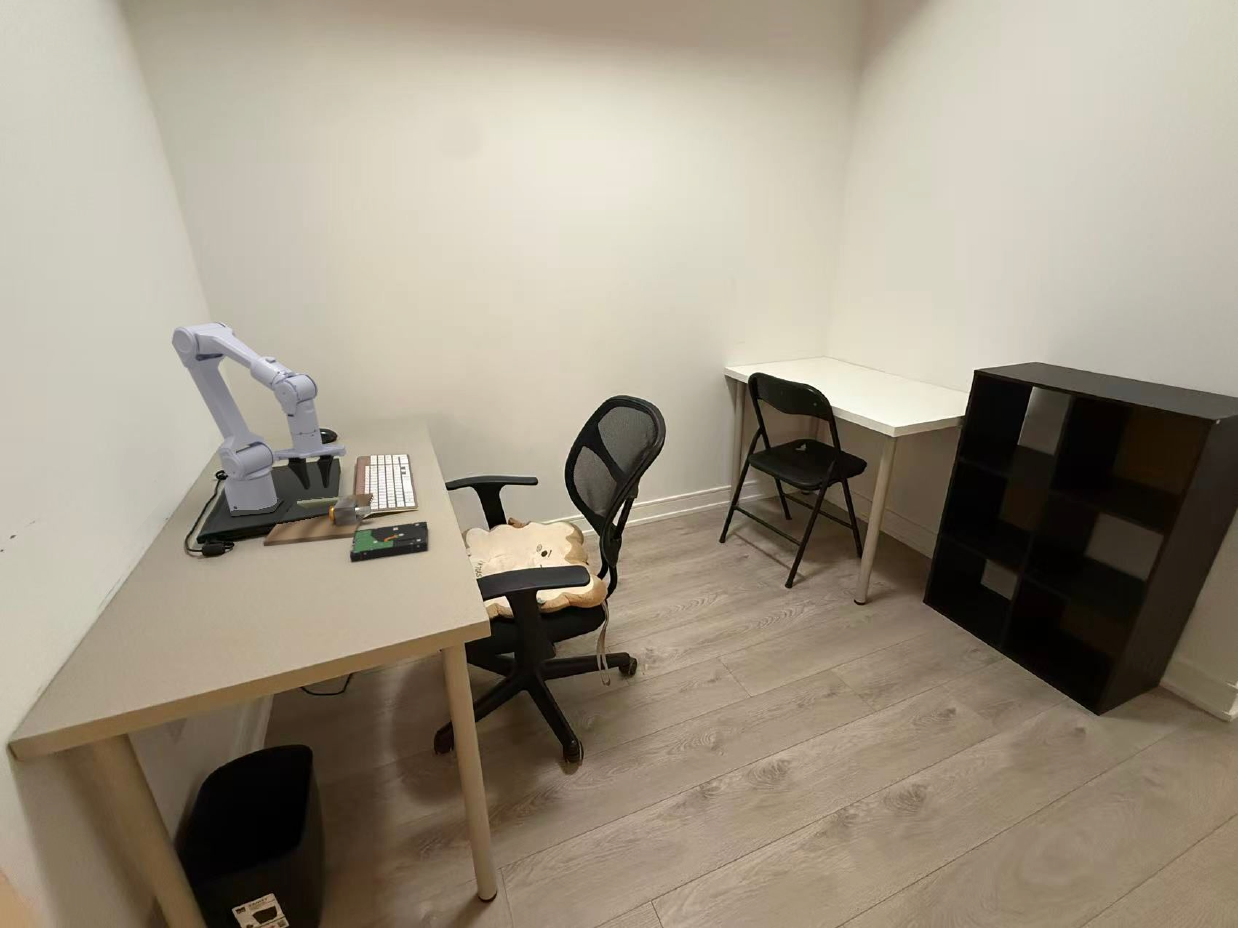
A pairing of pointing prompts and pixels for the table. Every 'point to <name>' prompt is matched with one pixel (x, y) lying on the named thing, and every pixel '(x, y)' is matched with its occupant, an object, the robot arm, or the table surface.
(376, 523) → the table surface
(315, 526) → the board
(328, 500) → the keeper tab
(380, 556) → the disk drive
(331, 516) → the pin
